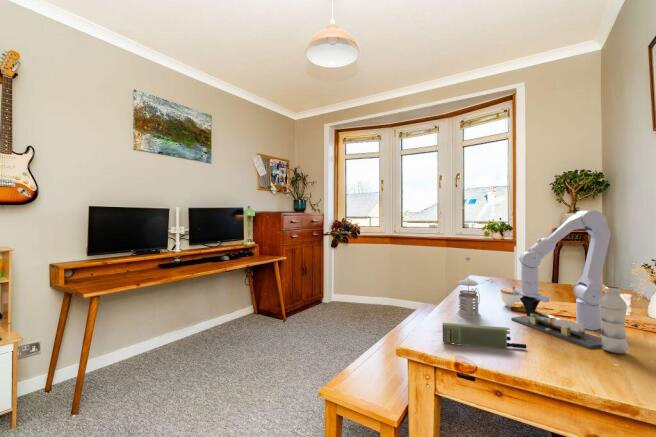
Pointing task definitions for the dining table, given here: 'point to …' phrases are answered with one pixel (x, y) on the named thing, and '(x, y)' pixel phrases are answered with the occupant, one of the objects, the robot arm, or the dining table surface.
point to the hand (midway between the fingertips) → (530, 316)
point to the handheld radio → (478, 336)
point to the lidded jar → (510, 296)
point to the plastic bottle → (613, 321)
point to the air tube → (559, 323)
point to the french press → (468, 299)
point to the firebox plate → (560, 332)
